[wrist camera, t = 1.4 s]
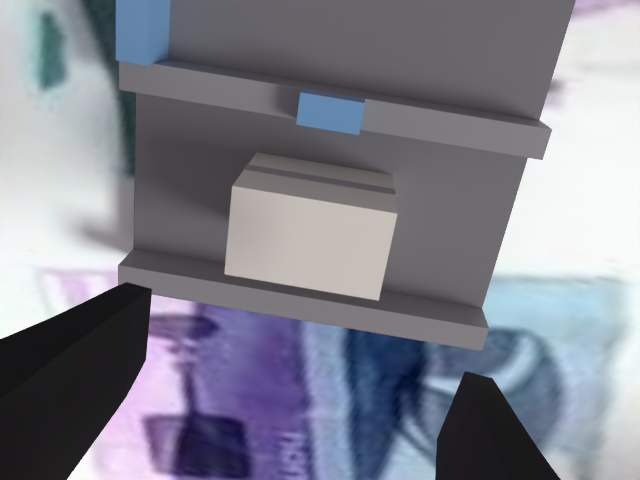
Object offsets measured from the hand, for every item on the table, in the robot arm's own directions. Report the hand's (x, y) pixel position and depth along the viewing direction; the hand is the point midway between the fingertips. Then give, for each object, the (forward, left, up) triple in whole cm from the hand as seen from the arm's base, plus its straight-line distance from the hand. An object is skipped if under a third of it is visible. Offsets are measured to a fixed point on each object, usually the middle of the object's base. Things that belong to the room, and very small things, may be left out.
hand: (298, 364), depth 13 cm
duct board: (0, +4, -10) cm, 11 cm away
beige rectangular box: (0, +1, -9) cm, 9 cm away
